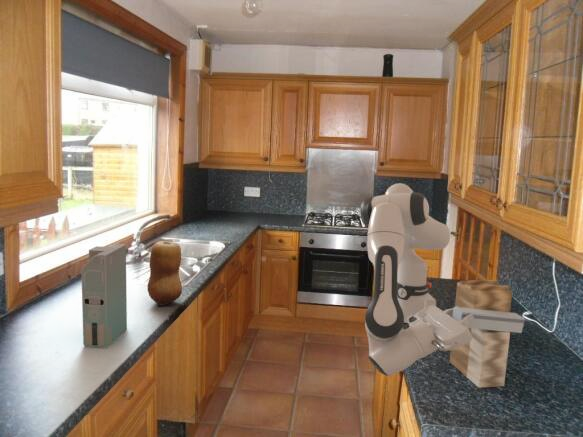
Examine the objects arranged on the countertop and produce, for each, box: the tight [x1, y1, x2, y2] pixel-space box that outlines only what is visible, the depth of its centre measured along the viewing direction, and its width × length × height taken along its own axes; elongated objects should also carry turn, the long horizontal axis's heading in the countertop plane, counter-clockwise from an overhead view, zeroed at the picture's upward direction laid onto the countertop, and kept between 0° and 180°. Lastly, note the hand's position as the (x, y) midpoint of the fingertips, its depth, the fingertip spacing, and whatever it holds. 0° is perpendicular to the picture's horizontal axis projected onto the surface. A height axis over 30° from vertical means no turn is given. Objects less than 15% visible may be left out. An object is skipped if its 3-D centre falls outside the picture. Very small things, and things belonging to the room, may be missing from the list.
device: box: [80, 243, 128, 349], centre depth 166 cm, size 16×8×30 cm, turn 176°
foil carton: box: [451, 306, 526, 334], centre depth 145 cm, size 20×4×4 cm, turn 102°
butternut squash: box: [147, 240, 183, 306], centre depth 202 cm, size 14×13×25 cm
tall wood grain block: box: [449, 279, 513, 389], centre depth 152 cm, size 12×16×27 cm
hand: (466, 312), depth 143 cm, fingers closed on foil carton, 4 cm apart
